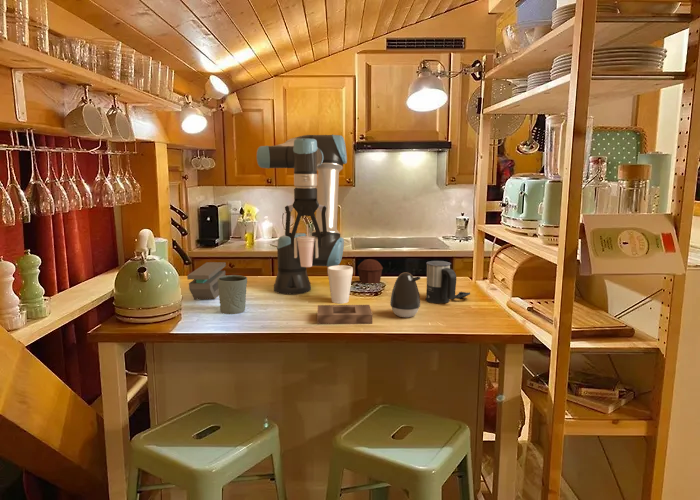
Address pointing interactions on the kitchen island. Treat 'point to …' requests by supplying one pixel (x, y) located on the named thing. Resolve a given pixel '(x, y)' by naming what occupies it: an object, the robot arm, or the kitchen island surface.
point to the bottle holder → (344, 314)
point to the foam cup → (340, 282)
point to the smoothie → (306, 249)
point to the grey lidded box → (206, 280)
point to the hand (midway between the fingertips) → (306, 257)
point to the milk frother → (441, 283)
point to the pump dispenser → (405, 296)
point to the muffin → (370, 271)
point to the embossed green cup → (232, 293)
